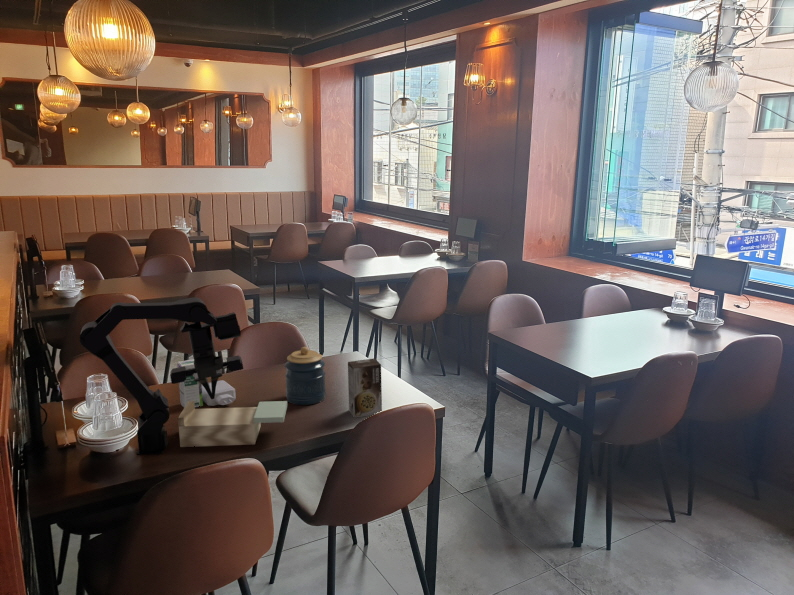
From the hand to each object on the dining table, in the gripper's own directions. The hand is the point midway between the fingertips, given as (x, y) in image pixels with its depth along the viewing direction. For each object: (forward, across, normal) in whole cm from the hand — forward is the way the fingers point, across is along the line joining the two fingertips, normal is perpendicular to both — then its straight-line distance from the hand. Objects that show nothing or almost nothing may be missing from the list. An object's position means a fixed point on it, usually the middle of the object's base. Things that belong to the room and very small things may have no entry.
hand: (212, 398), depth 168 cm
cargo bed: (+12, 0, +3) cm, 13 cm away
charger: (+12, +1, +29) cm, 32 cm away
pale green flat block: (+7, +11, 0) cm, 13 cm away
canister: (+15, +28, +24) cm, 40 cm away
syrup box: (+11, -8, +30) cm, 32 cm away
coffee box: (+17, +43, +7) cm, 47 cm away
